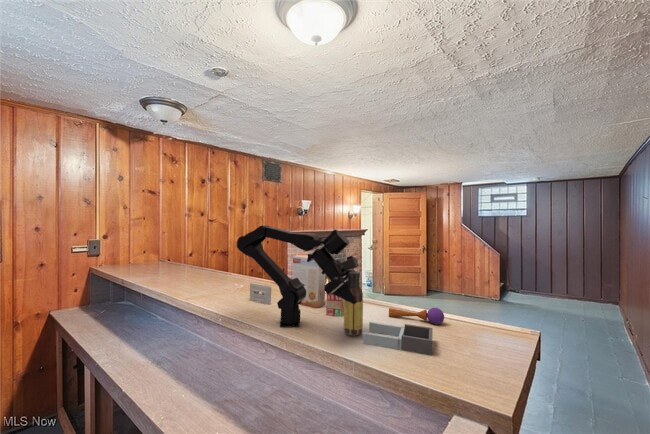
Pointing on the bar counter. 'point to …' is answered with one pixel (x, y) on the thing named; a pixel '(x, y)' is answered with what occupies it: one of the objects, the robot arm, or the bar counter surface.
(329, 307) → the printed food box
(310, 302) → the cracker box
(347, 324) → the sauce bottle
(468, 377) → the bar counter surface
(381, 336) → the grey compartment tray
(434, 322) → the kendama
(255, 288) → the cassette
